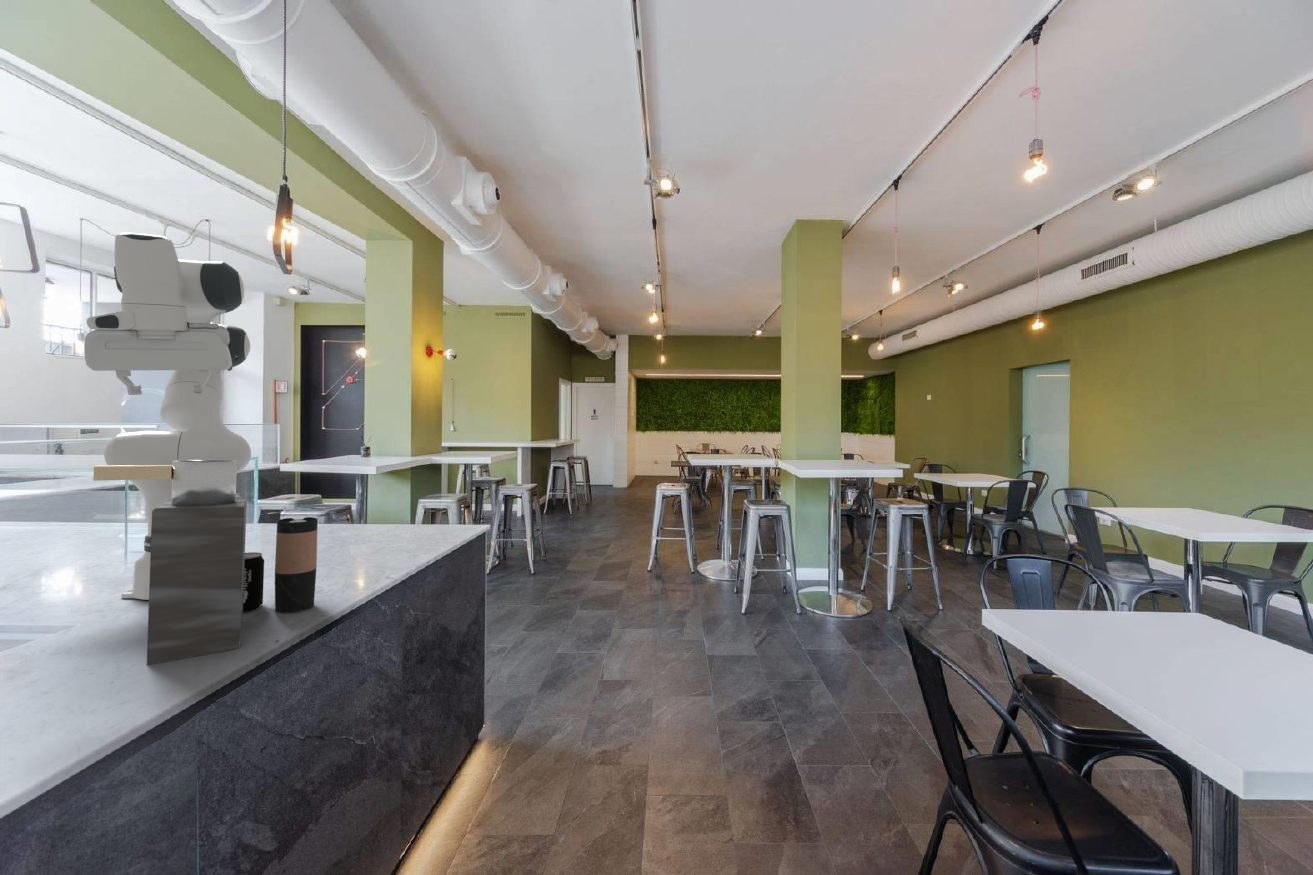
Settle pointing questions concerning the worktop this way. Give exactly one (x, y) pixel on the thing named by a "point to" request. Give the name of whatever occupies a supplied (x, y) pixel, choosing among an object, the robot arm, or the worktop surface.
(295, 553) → the travel mug
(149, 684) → the worktop surface
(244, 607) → the beverage can
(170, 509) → the stand
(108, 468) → the milk pan
